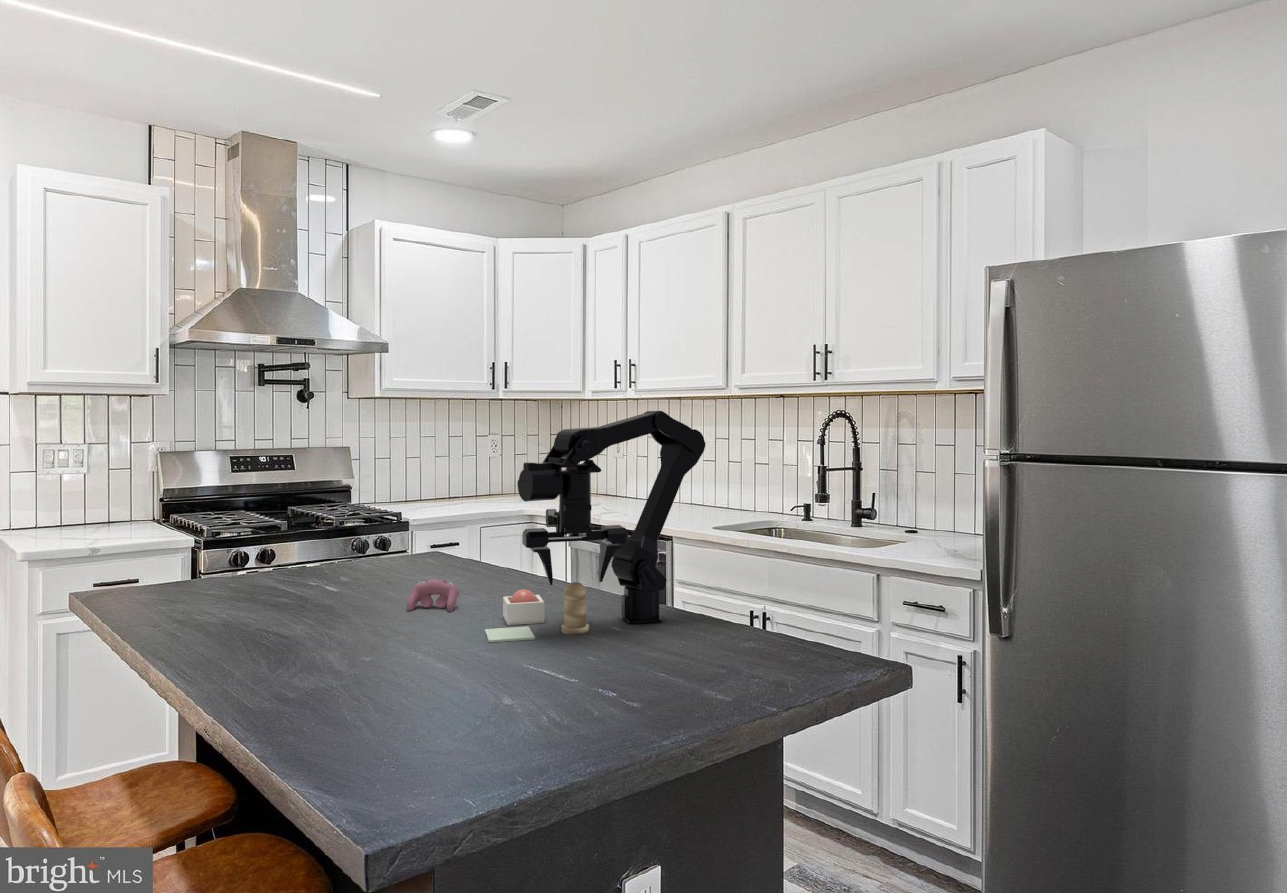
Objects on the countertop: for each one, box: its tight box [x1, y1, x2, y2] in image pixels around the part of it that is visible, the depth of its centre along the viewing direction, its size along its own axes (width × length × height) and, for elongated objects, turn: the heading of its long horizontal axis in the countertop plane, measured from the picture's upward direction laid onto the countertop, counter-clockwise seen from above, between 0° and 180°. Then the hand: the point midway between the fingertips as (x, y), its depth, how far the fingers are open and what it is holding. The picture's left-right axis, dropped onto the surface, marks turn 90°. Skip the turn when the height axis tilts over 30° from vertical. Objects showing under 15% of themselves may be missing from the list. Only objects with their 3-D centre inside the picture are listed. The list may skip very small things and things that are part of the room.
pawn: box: [561, 581, 590, 635], centre depth 155 cm, size 5×5×9 cm
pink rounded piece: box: [510, 588, 536, 603], centre depth 164 cm, size 5×5×5 cm
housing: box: [502, 594, 545, 626], centre depth 164 cm, size 7×7×4 cm
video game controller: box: [406, 579, 460, 613], centre depth 174 cm, size 10×5×7 cm, turn 84°
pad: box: [484, 626, 536, 643], centre depth 152 cm, size 8×8×1 cm
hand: (575, 583), depth 155 cm, fingers open, 9 cm apart
